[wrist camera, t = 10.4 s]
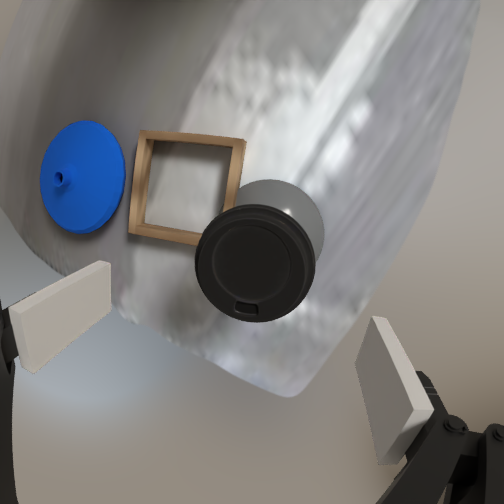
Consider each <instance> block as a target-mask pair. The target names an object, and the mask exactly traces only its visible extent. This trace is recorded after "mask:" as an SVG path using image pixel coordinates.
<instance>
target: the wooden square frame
mask: <svg viewBox="0 0 504 504" xmlns="http://www.w3.org/2000/svg"><path fill="white" fill-rule="evenodd" d="M154 140H155V141H169V142H181V143H192V144H202V145H211V146H220V147H228V148H233V150H232V156H231V163H230V169H229V176H228V182H227V189H226V195H225V202H224V209H223V212H224V211H226V210H228V209H231V208H233V207H235V205H236V198H237V192H238V189H239V186H240V180H241V174H242V167H243V161H244V155H245V149H246V143H247V142H246V141H245V140H244V139H239V138H230V137H222V136H213V135H203V134H192V133H179V132H165V131H146V130H140V133H139V139H138V146H137V153H136V160H135V168H134V176H133V185H132V194H131V204H130V216H129V230H128V233H133V234H138V235H143V236H148V237H153V238H158V239H164V240H169V241H174V242H179V243H185V244H190V245H195V246H197V245H198V242H199V240H200V238H201V236H202V234H201V233H196V232H190V231H185V230H179V229H174V228H168V227H162V226H157V225H151V224H145V223H144V221H145V210H146V200H147V191H148V182H149V174H150V166H151V159H152V152H153V145H154Z"/></svg>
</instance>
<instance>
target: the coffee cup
mask: <svg viewBox="0 0 504 504" xmlns="http://www.w3.org/2000/svg"><path fill="white" fill-rule="evenodd" d="M195 271H196V276H197V280H198V283H199V285H200V287H201V289H202V291H203V293H204V294H205V296H206V297H207V299H208V300H209V301H210V302H211V303H212V304H213V305H214V306H215V307H216V308H217V309H219V310H220V311H221V312H223V313H225V314H226V315H228V316H230V317H232V318H235V319H238V320H241V321H246V322H268V321H272V320H275V319H278V318H281V317H283V316H285V315H287V314H288V313H290V312H291V311H293V310H294V309H295V308H296V307H297V306H298V305H299V304H300V303H301V302H302V301H303V299H304V298H305V297H306V295H307V293H308V291H309V289H310V287H311V285H312V282H313V279H314V274H315V254H314V249H313V246H312V243H311V241H310V239H309V237H308V235H307V233H306V232H305V230H304V229H303V228H302V226H301V225H300V224H299V223H298V222H297V221H296V220H295V219H294V218H292V217H291V216H290V215H288V214H287V213H285V212H283V211H281V210H279V209H277V208H274V207H271V206H267V205H262V204H246V205H240V206H236V207H233V208H231V209H228V210H226V211H224V212H223V213H221V214H220V215H218V216H217V217H216V218H215V219H214V220H212V221H211V223H210V224H209V225H208V226H207V227H206V229H205V230H204V232H203V234H202V236H201V238H200V240H199V242H198V245H197V249H196V254H195Z"/></svg>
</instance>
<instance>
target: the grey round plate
mask: <svg viewBox="0 0 504 504" xmlns="http://www.w3.org/2000/svg"><path fill="white" fill-rule="evenodd" d="M246 204H262V205H267V206H271V207H274V208H277V209H279V210H281V211H283V212H285V213H287V214H288V215H290V216H291V217H292V218H294V219H295V220H296V221H297V222H298V223H299V224H300V225H301V226H302V228H303V229H304V230H305V232H306V233H307V235H308V237H309V239H310V241H311V243H312V246H313V249H314V254H315V263H316V261H317V260H318V258H319V256H320V253H321V251H322V247H323V242H324V226H323V221H322V217H321V215H320V212H319V210H318V208H317V207H316V205H315V203H314V202H313V201H312V199H311V198H310V197H309V196H308V195H307V194H306V193H305V192H303V191H302V190H301V189H299V188H298V187H296V186H294V185H292V184H290V183H287V182H284V181H280V180H259V181H255V182H251V183H249V184H246V185H244V186H242V187H241V188H239V189H238V192H237V198H236V205H235V207H236V206H240V205H246ZM223 209H224V205H223V206H222V208H221V210H220V212H219V215H220V214H221V213H223Z"/></svg>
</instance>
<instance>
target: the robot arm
mask: <svg viewBox="0 0 504 504" xmlns="http://www.w3.org/2000/svg"><path fill="white" fill-rule="evenodd" d="M110 311H111V263H108V262H104V261H100V260H99V261H97V262H95V263H93V264H91V265H89V266H87V267H85V268H83V269H81V270H79V271H77V272H75V273H73V274H71V275H69V276H67V277H65V278H63V279H61V280H59V281H57V282H55V283H53V284H51V285H49V286H47V287H45V288H44V289H42V290H40V291H38V292H35V293H33V294H31V295H29V296H28V297H26V298H24V299H22V300H21V301H18V302H16V303H15V304H13V305H11V306H9V307H7V308H6V309H4V310H2V307H1V301H0V504H18V501H17V496H16V488H15V480H14V468H13V453H12V403H13V386H14V375H15V363H14V358H16V357H17V356H18V355H19V358H20V362H21V365H22V367H23V368H24V369H26V370H28V371H29V372H31V373H33V374H35V373H36V372H37V371H38V370H39V369H41V368H42V367H43V366H44V365H45V364H46V363H48V362H49V361H50V360H51V359H52V358H54V357H55V356H56V355H57V354H58V353H60V352H61V351H62V350H63V349H64V348H66V347H67V346H68V345H69V344H70V343H72V342H73V341H74V340H75V339H76V338H78V337H79V336H80V335H81V334H83V333H84V332H85V331H87V330H88V329H89V328H90V327H91V326H93V325H94V324H95V323H96V322H98V321H99V320H100V319H101V318H103V317H104V316H105V315H107V314H108V313H109V312H110ZM355 366H356V370H357V374H358V378H359V382H360V386H361V389H362V393H363V397H364V402H365V406H366V410H367V414H368V418H369V423H370V427H371V432H372V437H373V441H374V446H375V450H376V455H377V460H378V465H392V464H398V463H399V461H400V460H401V459H402V457H403V456H404V455H406V458H407V463H406V465H405V466H404V467H403V469H402V470H401V471H400V472H399V474H398V475H397V476H396V477H395V478H394V481H393V482H392V484H391V485H390V486H389V488H388V489H387V490H386V491H385V493H384V494H383V495H382V496H381V498H380V499H379V500H378V501H377V503H376V504H437V503H438V501H439V499H440V497H441V495H442V493H443V491H444V489H445V487H446V485H447V488H446V492H445V498H444V502H443V504H504V426H503V425H500V424H490V425H489V426H488V427H487V429H486V430H485V431H484V433H477V432H472V431H469V429H468V427H467V425H466V423H465V422H464V421H463V420H462V419H460V418H458V417H457V416H454V415H449V414H448V413H447V411H446V409H445V407H444V405H443V403H442V401H441V399H440V397H439V395H437V391H436V390H435V389H434V386H433V384H432V383H431V380H430V379H429V378H428V377H427V376H426V375H425V374H424V373H423V372H422V371H415V370H414V368H413V366H412V364H411V362H410V361H409V359H408V357H407V355H406V353H405V351H404V349H403V348H402V346H401V344H400V342H399V340H398V338H397V337H396V335H395V333H394V331H393V330H392V328H391V326H390V324H389V322H388V321H387V319H386V318H383V317H376V316H371V319H370V322H369V325H368V328H367V331H366V334H365V337H364V340H363V342H362V345H361V348H360V351H359V354H358V357H357V359H356V362H355Z"/></svg>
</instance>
